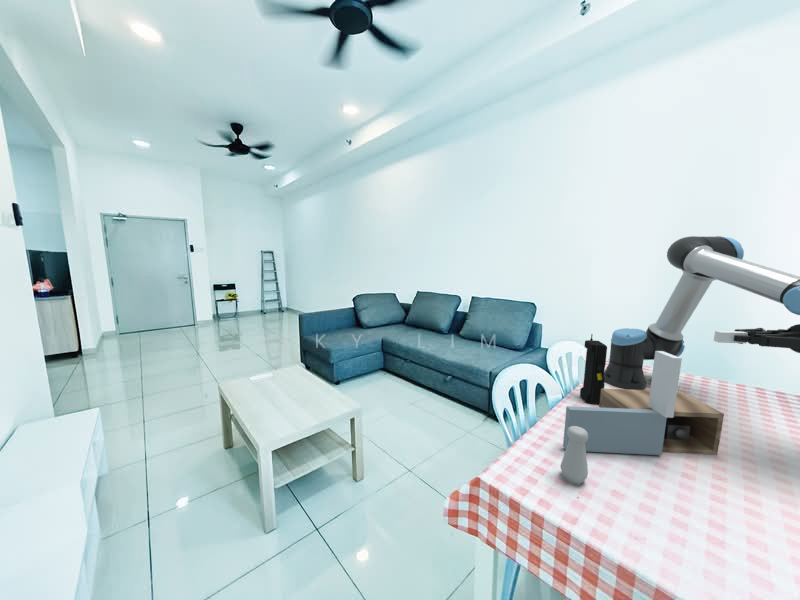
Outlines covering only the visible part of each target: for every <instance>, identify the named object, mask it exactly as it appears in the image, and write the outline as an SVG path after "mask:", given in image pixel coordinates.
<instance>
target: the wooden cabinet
mask: <svg viewBox="0 0 800 600" xmlns="http://www.w3.org/2000/svg"><path fill="white" fill-rule="evenodd" d="M649 396H650V389H641V390H632V389H625V388H604V389H603V388H601V395H600V404H598V407H599V408H624V409H648V410H653V409H652V408H650V407H649V406H648V404H649ZM724 416H725V413H723V412H721V411H719V410H717V409H715V408H713V407H711V406H710V405H708V404H706V403H704V402H701V401H700V400H698V399H696V398H694V397H692V396H690V395H688V394H686V393H685V392H682V391H679V390H677V396H676V403H675V410H674V417H673V418H669V417H667V419H666V426H665V434H664V441H663V448H662V453H674V454H675V453H676V454H694V455H695V454H697V455H698V454H699V455H713V456H714V455H716V456H717V455H719V447H720V442H721V435H722V429H723V424H724V418H725V417H724Z"/></svg>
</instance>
